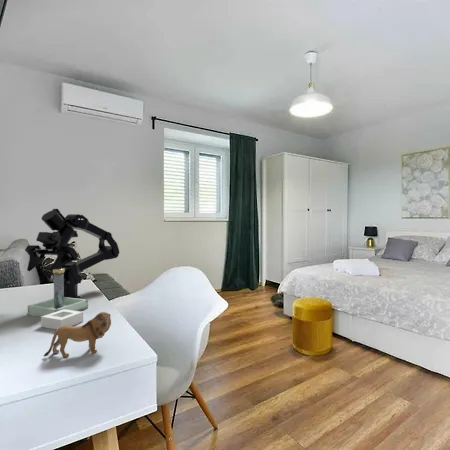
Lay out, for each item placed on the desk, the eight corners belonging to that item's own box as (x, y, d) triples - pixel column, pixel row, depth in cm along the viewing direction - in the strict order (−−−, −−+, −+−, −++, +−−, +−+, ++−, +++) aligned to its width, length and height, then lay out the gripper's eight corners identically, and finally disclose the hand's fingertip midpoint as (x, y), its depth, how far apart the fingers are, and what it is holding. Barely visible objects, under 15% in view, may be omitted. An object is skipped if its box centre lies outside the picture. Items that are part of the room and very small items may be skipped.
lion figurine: (109, 342, 77) (109, 308, 77) (112, 350, 72) (112, 314, 72) (44, 354, 70) (44, 316, 70) (42, 363, 65) (42, 323, 65)
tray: (60, 304, 111) (60, 296, 111) (87, 308, 107) (87, 299, 107) (27, 314, 99) (27, 305, 99) (56, 319, 94) (56, 309, 94)
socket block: (63, 318, 95) (63, 309, 95) (83, 321, 93) (83, 311, 93) (41, 326, 88) (41, 316, 88) (61, 330, 85) (61, 319, 85)
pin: (60, 306, 105) (60, 267, 105) (66, 308, 104) (66, 268, 103) (50, 309, 102) (50, 269, 102) (57, 311, 100) (57, 270, 100)
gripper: (28, 224, 112) (2, 256, 101) (72, 224, 109) (50, 257, 98) (45, 243, 120) (22, 275, 109) (86, 244, 116) (67, 277, 106)
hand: (39, 271), depth 105 cm, fingers open, 9 cm apart
